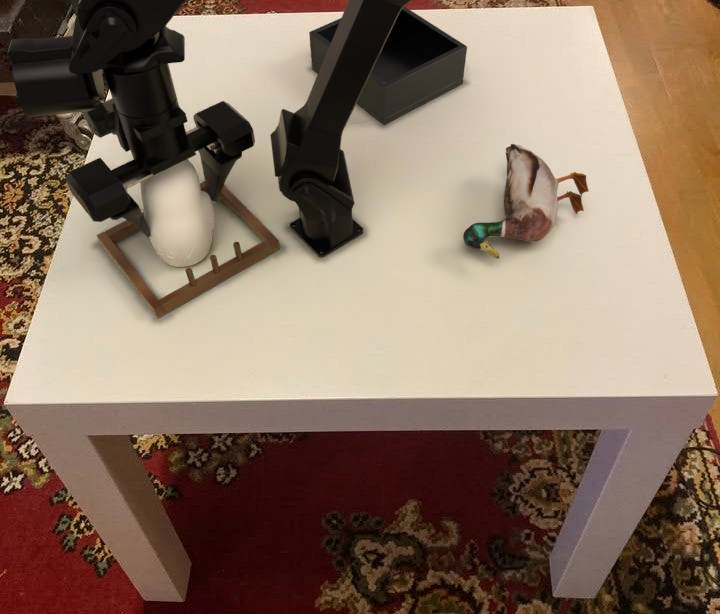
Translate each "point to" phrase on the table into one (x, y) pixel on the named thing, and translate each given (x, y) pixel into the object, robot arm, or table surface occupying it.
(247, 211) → the drying rack
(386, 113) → the dark grey open box
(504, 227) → the decorative duck model
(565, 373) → the table surface
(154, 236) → the figurine
